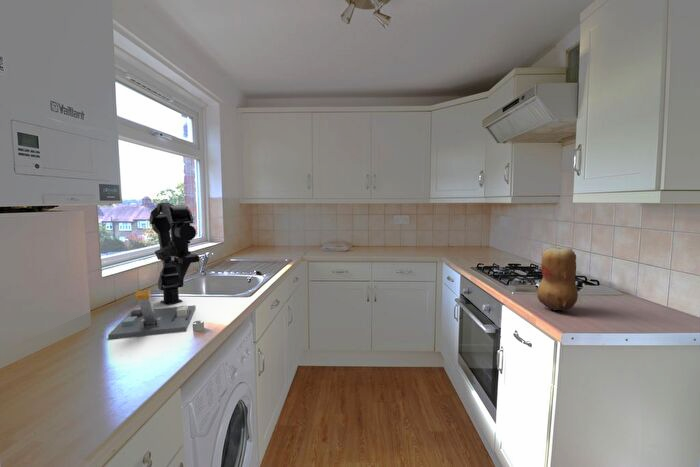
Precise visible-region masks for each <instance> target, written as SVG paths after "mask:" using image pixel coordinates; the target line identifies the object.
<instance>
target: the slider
mask: <svg viewBox="0 0 700 467" xmlns="http://www.w3.org/2000/svg"><path fill="white" fill-rule="evenodd" d="M185 316H187V308H180V309H177V317H185Z"/></svg>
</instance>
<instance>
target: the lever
mask: <svg viewBox="0 0 700 467" xmlns="http://www.w3.org/2000/svg"><path fill="white" fill-rule="evenodd" d="M151 295H152V294H151V290H150V289H148V290H147V289H145V290H136V291H135V294H134V297H135V300H136V301H137V303H138V304H139V308H140V309H141V311H142V314H143V318H144V326H152V325H157V319H156V316H155V312H154V309H155V308H154V306H153V302H152V298H151Z"/></svg>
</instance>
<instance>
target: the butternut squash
mask: <svg viewBox="0 0 700 467" xmlns="http://www.w3.org/2000/svg"><path fill="white" fill-rule="evenodd" d="M541 273H542V278H541V281H540V283H539V285H538V287H537V292H536V294H537V299H538V301H539V302H540V303H541V304H543V306H545V307H546V308H547V307H548V308H547V309H549V308H550V309H549V310H551V309H553V310H562V311H561V312H567V311H569V310H571V309H572V308H573V307H574V306H575V305H576V303H577V301H578V298H579V296H578V294H579V293H578V288H577V283H576V273H577V254H576V253H575V251H574V250H573V249H571V248H569V247H563V246H562V247H552V248H548V249H545V250H544V251H543V253H542V256H541ZM553 310H552V311H553Z"/></svg>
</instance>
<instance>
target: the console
mask: <svg viewBox="0 0 700 467" xmlns="http://www.w3.org/2000/svg"><path fill="white" fill-rule="evenodd" d="M180 308H187V316H185V317H177V309H180ZM153 309H154V312H155V316H156V319H157V325H152V326H144V318H143V314H142V311H141V308H140V309H139V308H138V309H135V310H134V309H133V310H131V311H130V312H129V313H128V314H127V315H126V316H125V318H123V320H121V321H120V322H119V323H118V324H117V325H116V326H115V327H114V329H112V330H111V332H110V333H108V335H107V336H108V340H116V339H118V340H119V339H126V338H134V337H136V338H137V337H143V336H153V335H154V336H155V335H163V334H171V333H180V332H187V330H188V328H189V325H190V323H191V321H192V319H193V317H194V314H195V311H196V305H179V306H173V307H164V308H163V307H161V308H153Z"/></svg>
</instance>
